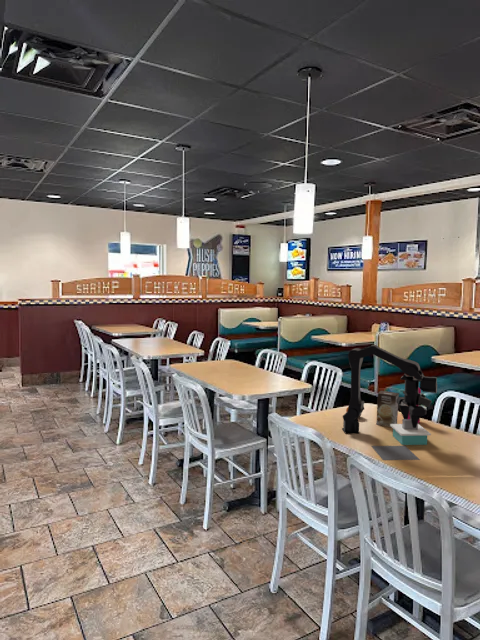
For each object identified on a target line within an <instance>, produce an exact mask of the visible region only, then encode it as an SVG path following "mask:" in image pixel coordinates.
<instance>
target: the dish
mask: <svg viewBox="0 0 480 640" xmlns="http://www.w3.org/2000/svg"><path fill="white" fill-rule="evenodd" d="M392 437H393V438H394V439H395V440H396V441H397V442H398V443H400V445H401V446H417V445H418V446H419V445H420V446H424V445H425V446H427V445H428V435H415V436H401V435H400V434H399V433H398V432H397V431H396V430H394V429H393V428H392Z"/></svg>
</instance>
